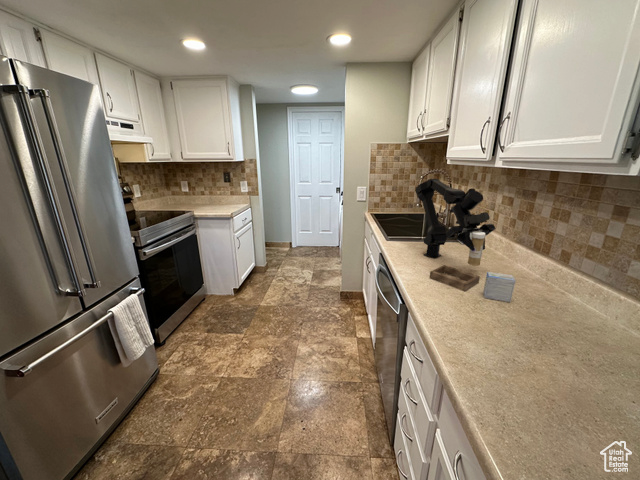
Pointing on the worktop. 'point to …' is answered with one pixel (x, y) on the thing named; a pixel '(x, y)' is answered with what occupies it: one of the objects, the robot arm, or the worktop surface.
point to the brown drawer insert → (462, 283)
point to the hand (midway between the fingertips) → (478, 249)
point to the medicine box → (499, 286)
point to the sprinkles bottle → (476, 248)
